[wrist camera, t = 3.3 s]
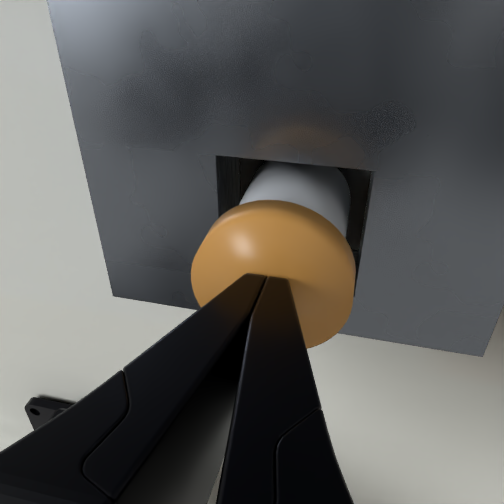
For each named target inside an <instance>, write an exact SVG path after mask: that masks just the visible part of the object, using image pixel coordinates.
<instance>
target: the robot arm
mask: <svg viewBox="0 0 504 504" xmlns="http://www.w3.org/2000/svg"><path fill="white" fill-rule="evenodd" d="M25 411H26V413H27V415H28V417H29V420H30V422H31V424H32V426H33V429H34V431H33V432H31V433H29V434H28V435H26V436H25V437H23V438H22V439H20V440H18V441H17V442H15V443H14V444H12V445H11V446H9V447H7V448H6V449H4V450H3V451H1V452H0V504H207V502H208V499H209V496H210V494H211V491H212V488H213V485H214V483H215V480H216V477H217V474H218V472H219V469H220V466H221V464H222V461H223V458H224V462H223V467H222V473H221V478H220V484H219V489H218V495H217V500H216V504H354V503H353V500H352V498H351V496H350V493H349V491H348V488H347V486H346V483H345V480H344V478H343V475H342V472H341V470H340V467H339V464H338V462H337V459H336V456H335V453H334V450H333V446H332V443H331V440H330V436H329V433H328V430H327V426H326V422H325V418H324V414H323V411H322V410H321V403H320V400H319V396H318V392H317V388H316V384H315V380H314V376H313V372H312V368H311V365H310V361H309V357H308V353H307V349H306V345H305V341H304V337H303V333H302V330H301V326H300V322H299V318H298V314H297V310H296V306H295V302H294V298H293V294H292V291H291V287H290V283H289V280H288V279H286V278H280V277H274V276H269V277H268V278H266V276H265V275H260V274H253V273H246V274H244V275H242V276H241V277H240V278H239V279H237V280H236V281H235V282H233V283H232V284H231V285H230V286H228V287H227V288H226V289H224V290H223V291H222V292H221V293H219V294H218V295H217V296H215V297H214V298H213V299H212V300H210V301H209V302H208V303H206V304H205V305H204V306H203V307H201V308H200V309H199V310H197V311H196V312H195V313H194V314H192V315H191V316H190V317H188V318H187V319H186V320H184V321H183V322H182V323H181V324H179V325H178V326H177V327H175V328H174V329H173V330H172V331H170V332H169V333H168V334H166V335H165V336H164V337H163V338H161V339H160V340H159V341H157V342H156V343H155V344H154V345H152V346H151V347H150V348H148V349H147V350H146V351H145V352H143V353H142V354H141V355H139V356H138V357H137V358H135V359H134V360H133V361H132V362H130V363H129V364H128V365H126V366H125V367H124V368H123V371H122V370H120V371H118V372H117V373H116V374H115V375H113V376H112V377H111V378H109V379H108V380H107V381H106V382H104V383H103V384H102V385H100V386H99V387H97V388H96V389H95V390H93V391H92V392H91V393H89V394H88V395H87V396H85V397H84V398H83V399H81V400H80V401H78V402H77V403H75V404H74V405H69V404H65V403H60V402H55V401H51V400H46V399H42V398H36V397H33V398H31V399H30V400H29V402H28V403H27V404H26V406H25ZM224 455H225V456H224Z"/></svg>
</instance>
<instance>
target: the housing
mask: <svg viewBox="0 0 504 504" xmlns="http://www.w3.org/2000/svg"><path fill="white" fill-rule="evenodd" d="M47 4H48V8H49V13H50V17H51V22H52V26H53V31H54V35H55V40H56V44H57V48H58V53H59V57H60V62H61V66H62V71H63V75H64V80H65V84H66V88H67V93H68V97H69V102H70V106H71V111H72V115H73V120H74V124H75V129H76V133H77V137H78V142H79V146H80V151H81V155H82V160H83V164H84V169H85V173H86V178H87V182H88V186H89V191H90V195H91V200H92V204H93V209H94V213H95V218H96V222H97V226H98V231H99V235H100V240H101V244H102V249H103V253H104V258H105V262H106V267H107V271H108V275H109V280H110V284H111V289H112V293H113V296H115V297H121V298H127V299H133V300H139V301H146V302H152V303H158V304H164V305H170V306H176V307H182V308H188V309H194V310H199V309H200V308H201V307H200V305H199V303H198V301H197V299H196V297H195V295H194V292H193V289H192V283H191V268H192V263H193V260H194V257H195V255H196V253H197V251H198V249H199V247H200V246H201V244H202V242H203V240H204V239H205V237H206V235H207V233H208V232H209V230H210V228H211V227H212V225H213V224H214V223H215V221H216V220H217V219H218V218H219V217H220V216H222V215H223V214H224V213H226V212H227V211H228V210H230V209H232V208H234V207H236V206H238V205H239V204H240V168H239V157H240V158H250V159H260V160H270V161H280V162H290V163H300V164H310V165H321V166H331V167H341V168H351V169H361V170H371V177H370V183H369V190H368V196H367V202H366V209H365V215H364V221H363V228H362V234H361V240H360V247H359V251H354V250H351V251H352V253H353V256H354V260H355V267H356V275H355V286H354V296H353V305H352V309H351V313H350V315H349V318H348V320H347V322H346V323H345V325H344V326H343V327H342V329H341V330H340V331H339V332H338V333H340V334H346V335H352V336H358V337H364V338H371V339H377V340H383V341H389V342H395V343H401V344H407V345H413V346H419V347H425V348H431V349H437V350H444V351H450V352H456V353H462V354H468V355H474V356H480V357H483V355H484V352H485V350H486V347H487V345H488V342H489V340H490V337H491V335H492V332H493V330H494V327H495V325H496V323H497V320H498V318H499V315H500V313H501V310H502V308H503V305H504V0H47Z"/></svg>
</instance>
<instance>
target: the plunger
mask: <svg viewBox="0 0 504 504" xmlns="http://www.w3.org/2000/svg"><path fill="white" fill-rule="evenodd" d="M350 202H351V196H350V190H349V186H348V184H347V181H346V179H345V178H344V176H343V174H342V173H341V172H340V170H339V169H338V168H337V167H331V166H321V165H310V164H300V163H290V162H280V161H270V160H267V161H266V162H265V163H263V164H262V165H261V166H260V168H259V169H258V170H257V172H256V173H255V175H254V177H253V179H252V181H251V183H250V185H249V187H248V188H247V190H246V192H245V194H244V196H243V198H242V200H241V202H240V204H239V205H238V206H236V207H234V208H232V209H230V210H228V211H227V212H226V213H224V214H223V215H222V216H220V217H219V218H218V219H217V220H216V221H215V223H214V224H213V225H212V227H211V228H210V230H209V232H208V233H207V235H206V237H205V239H204V240H203V242H202V244H201V246H200V247H199V249H198V251H197V253H196V255H195V257H194V260H193V263H192V268H191V283H192V289H193V292H194V295H195V297H196V299H197V301H198V303H199V305H200V307H203V306H204V305H205V304H206V303H208V302H209V301H210V300H212V299H213V298H214V297H215V296H217V295H218V294H219V293H221V292H222V291H223V290H224V289H226V288H227V287H228V286H230V285H231V284H232V283H233V282H235V281H236V280H237V279H239V278H240V277H241V276H242V275H244V274H246V273H253V274H260V275H265V276H266V278H268V277H269V276H274V277H280V278H286V279H288V280H289V283H290V287H291V291H292V294H293V298H294V302H295V306H296V310H297V314H298V318H299V322H300V326H301V330H302V333H303V337H304V341H305V345H306V349H307V348H311V347H314V346H317V345H319V344H321V343H324V342H325V341H327V340H329V339H330V338H332V337H333V336H334V335H336V334H337V333H338V332H339V331H340V330H341V329H342V327H343V326H344V325H345V323H346V322H347V320H348V318H349V315H350V313H351V309H352V305H353V296H354V286H355V275H356V267H355V260H354V256H353V253H352V251H351V248H350V246H349V244H348V242H347V241H346V232H347V225H348V218H349V211H350Z"/></svg>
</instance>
